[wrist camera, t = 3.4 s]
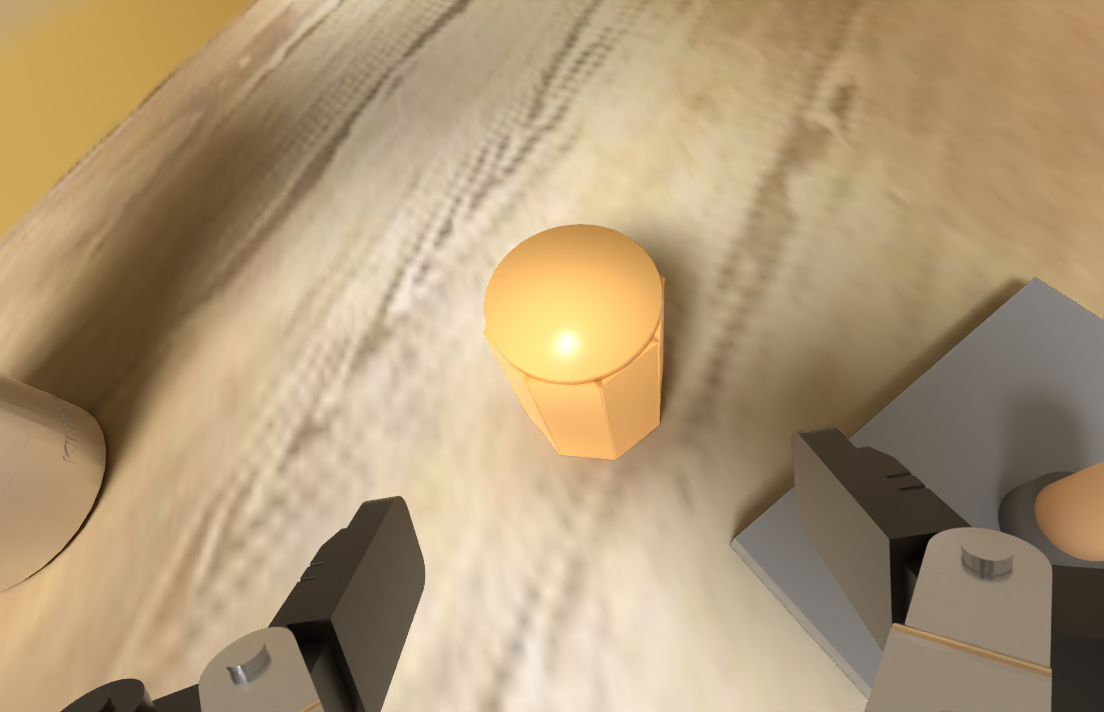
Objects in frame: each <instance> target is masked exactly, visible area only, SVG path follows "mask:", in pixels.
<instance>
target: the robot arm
mask: <svg viewBox="0 0 1104 712" xmlns="http://www.w3.org/2000/svg"><path fill="white" fill-rule="evenodd" d="M792 456H793V468H794V479H795V491H796V502H797V508H798V513H799V517H800V520H801V523H802V526H803V528H804V530H805V532H806V534H807V536H808V537H809V539H810V540H811V542H812V543H813V545H814V547H815V548H816V550H817V551H818V553H819V554H820V556H821V557H822V559H823V561H824V562H825V564H826V565H827V567H828V568H829V570H830V571H831V573H832V574H833V576H834V578H835V579H836V581H837V582H838V584H839V585H840V587H841V588H842V590H843V591H844V593H845V595H846V596H847V598H848V599H849V601H850V602H851V604H852V605H853V607H854V609H855V610H856V612H857V613H858V615H859V616H860V618H861V619H862V621H863V622H864V624H865V626H866V627H867V629H868V630H869V632H870V633H871V635H872V636H873V638H874V639H875V641H876V643H877V644H878V646H879V647H880V649H881V650H882V652H883V654H882V658H881V661H880V664H879V667H878V671H877V674H876V677H875V680H874V684H873V687H872V690H871V693H870V696H869V700H868V703H867V706H866V709H865V712H1104V569H1102V568H1087V567H1072V566H1061V565H1053V564H1050V562H1049V560H1048V559H1047V557H1046V556H1045V555H1044V554H1043V553H1042V552H1041V551H1040V550H1038V549H1037V548H1036V547H1034V546H1033V545H1031V544H1030V543H1028V542H1026V541H1024V540H1022V539H1020V538H1017V537H1015V536H1012V535H1009V534H1006V533H1003V532H999V531H995V530H991V529H984V528H973V527H972V526H971V525H970V524H968V523H967V522H966V521H965V520H964V519H963V518H962V517H961V516H959V515H958V514H957V513H956V512H955V511H954V510H953V509H952V508H950V507H949V506H948V505H947V504H946V503H945V502H944V501H943V500H941V499H940V498H939V497H938V496H937V495H936V494H935V493H934V492H933V491H931V490H930V489H929V488H926V487H925V484H924V483H922V482H921V481H920V480H919V479H918V478H917V477H916V476H915V475H913V476H912V475H911V472H910V471H909V470H908V469H907V468H906V467H904V466H903V465H902V464H901V463H900V462H899V461H898V460H897V459H895V458H894V457H892V456H890V455H888V454H885V453H883V452H881V451H878V450H876V449H874V448H871V447H869V446H867V447H861V448H856V447H855V446H854V445H853V444H852V443H851V442H850V441H849V440H848V439H847V438H846V437H845V436H844V435H843V434H842V433H841V432H840V431H839V430H838V429H837V428H835V427H833V426H831V427H825V428H819V429H813V430H807V431H801V432H795V433H793V435H792ZM105 463H106V445H105V440H104V435H103V432H102V430H101V428H100V426H99V424H98V422H97V420H96V419H95V418H94V417H93V416H92V415H91V414H89V413H88V412H87V411H86V410H84V409H82V408H80V407H78V406H76V405H73V404H71V403H69V402H67V401H64V400H62V399H60V398H58V397H57V396H55V395H53V394H51V393H48V392H46V391H45V392H43V391H41V390H39V389H36V388H34V387H31V386H29V385H27V384H25V383H22V382H20V381H18V380H15V379H13V378H11V377H9V376H6V375H5V374H2V373H0V592H1V591H3V590H5V589H7V588H9V587H12V586H14V585H16V584H18V583H20V582H22V581H23V580H25V579H26V578H28V577H29V576H31V575H32V574H34V573H35V572H36V571H38V570H39V569H41V568H42V567H43V566H44V565H46V564H47V563H48V562H49V561H50V560H51V559H52V558H53V557H54V556H55V555H56V554H57V553H59V552H60V551H61V550H62V549H63V547H64V546H65V545H66V544H67V543H68V541H69V540H70V539H71V538H72V537H73V535H74V534H75V533H76V532H77V530H78V529H79V527H80V526H81V524H82V523H83V521H84V519H85V518H86V516H87V515H88V513H89V511H90V510H91V508H92V505H93V503H94V501H95V499H96V496H97V494H98V492H99V489H100V486H101V482H102V478H103V475H104V471H105ZM300 579H301V581H300V582H297V584H296V586H295V587H294V589H293V590H292V592H291V593H290V595H289V596H288V598H287V599H286V601H285V602H284V604H283V605H282V607H281V608H280V610H279V611H278V613H277V614H276V616H275V617H274V619H273V620H272V622H271V623H270V625H269V626H268V628H264V629H261V630H257V631H255V632H252V633H250V634H247V635H245V636H243V637H241V638H240V639H238V640H236V641H234V642H233V643H232V644H230V645H229V646H227V647H226V648H225V649H223V650H222V651H221V652H220V653H219V654H218V655H216V656H215V657H214V658H213V659H212V661H211V662H210V663H209V664H208V665H207V667H206V668H205V670H204V671H203V673H202V675H201V677H200V680H199V684H196V685H193V686H191V687H188V688H185V689H183V690H180V691H177V692H175V693H172V694H169V695H167V696H164V697H161V698H159V699H156V700H153V701H152V700H151V698H150V696H149V694H148V692H147V690H146V688H145V686H144V685H143V683H142V682H141V681H140V680H137V679H121V680H117V681H114V682H111V683H108V684H105V685H103V686H101V687H98V688H96V689H94V690H92V691H90V692H89V693H87V694H85V695H83V696H82V697H80V698H79V699H77V700H76V701H74V702H73V703H71V704H70V705H68V706H67V707H66V708H65V709H63V710H62V711H61V712H381V709H382V706H383V703H384V700H385V697H386V695H387V692H388V689H389V686H390V683H391V680H392V678H393V675H394V672H395V669H396V666H397V663H398V661H399V658H400V655H401V652H402V649H403V646H404V644H405V641H406V638H407V635H408V632H409V629H410V626H411V624H412V621H413V618H414V615H415V612H416V609H417V607H418V604H419V601H420V598H421V595H422V592H423V589H424V585H425V565H424V559H423V556H422V552H421V549H420V546H419V543H418V540H417V536H416V533H415V530H414V527H413V523H412V520H411V517H410V514H409V511H408V507H407V505H406V502H405V501H404V499H403V498H402V497H401V496H395V497H389V498H383V499H377V500H371V501H365V502H364V503H362V505H361V506H360V508H359V509H358V511H357V513H356V514H355V516H354V517H353V519H352V521H351V522H350V524H349V525H348V527H347V528H344V529H341V530H340V531H339V532H337V533H336V534H335V535H334V536H333V537H332V538H330V539H329V540H328V541H327V542H326V543H325V544H323V545H322V546H321V548H320V549H319V551H318V552H317V554H316V555H315V557H314V558H313V560H312V561H311V563H310V567H307V569H306V570H305V572H304V573H303V575H302V576H301V578H300Z"/></svg>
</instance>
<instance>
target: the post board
mask: <svg viewBox="0 0 1104 712" xmlns="http://www.w3.org/2000/svg"><path fill="white" fill-rule="evenodd" d="M848 440H849V441H850V442H851V443H852V444H853V445H854V446H855V447H856V448H861V447H867V446H869V447H871V448H874V449H876V450H878V451H881V452H883V453H885V454H888V455H890V456H892V457H894V458H895V459H897V460H898V461H899V462H900V463H901V464H902V465H903V466H904V467H906V468H907V469H908V470H909V471H910V472H911V475H912V476H913V475H915V476H916V477H917V478H918V479H919V480H920V481H921V482H922V483H924V484H925V487H926V488H929V489H930V490H931V491H933V492H934V493H935V494H936V495H937V496H938V497H939V498H940V499H941V500H943V501H944V502H945V503H946V504H947V505H948V506H949V507H950V508H952V509H953V510H954V511H955V512H956V513H957V514H958V515H959V516H961V517H962V518H963V519H964V520H965V521H966V522H967V523H968V524H970V525H971V526H972V527H973V528H984V529H991V530H995V531H999V532H1003V533H1006V534H1009V535H1012V536H1015V537H1017V538H1020V539H1022V540H1024V541H1026V542H1028V543H1030V544H1031V545H1033V546H1034V547H1036V548H1037V549H1038V550H1040V551H1041V552H1042V553H1043V554H1044V555H1045V556H1046V557H1047V559H1048V560H1049V562H1050V564H1053V565H1061V566H1072V567H1087V568H1102V569H1104V320H1103V319H1101V318H1100V317H1098V316H1096V315H1095V314H1093V313H1092V312H1090V311H1089V310H1087V309H1085V308H1084V307H1082V306H1081V305H1079V304H1077V303H1076V302H1074V301H1073V300H1071V299H1070V298H1068V297H1066V296H1065V295H1063V294H1062V293H1060V292H1058V291H1057V290H1055V289H1054V288H1052V287H1050V286H1049V285H1047V284H1046V283H1044V282H1043V281H1041V280H1039V279H1038V278H1036V277H1034V278H1033V279H1032V280H1031V281H1030V282H1028V283H1027V284H1026V285H1025V286H1024V287H1023V288H1022V289H1020V290H1019V291H1018V292H1017V293H1016V294H1015V295H1013V296H1012V297H1011V298H1010V299H1009V300H1008V301H1007V302H1005V303H1004V304H1003V305H1002V306H1001V307H1000V308H999V309H997V310H996V311H995V312H994V313H993V314H992V315H990V316H989V317H988V318H987V319H986V320H985V321H984V322H982V323H981V324H980V325H979V326H978V327H977V328H976V329H974V330H973V331H972V332H971V333H970V334H969V335H967V336H966V337H965V338H964V339H963V340H962V341H961V342H959V343H958V344H957V345H956V346H955V347H954V348H952V349H951V350H950V351H949V352H948V353H947V354H946V355H944V356H943V357H942V358H941V359H940V360H939V361H938V362H936V363H935V364H934V365H933V366H932V367H931V368H929V369H928V370H927V371H926V372H925V373H924V374H923V375H921V376H920V377H919V378H918V379H917V380H916V381H915V382H913V383H912V384H911V385H910V386H909V387H908V388H906V389H905V390H904V391H903V392H902V393H901V394H900V395H898V396H897V397H896V398H895V399H894V400H893V401H892V402H890V403H889V404H888V405H887V406H886V407H885V408H883V409H882V410H881V411H880V412H879V413H878V414H877V415H875V416H874V417H873V418H872V419H871V420H870V421H868V422H867V423H866V424H865V425H864V426H863V427H862V428H860V429H859V430H858V431H857V432H856V433H855V434H854V435H852V436H851V437H850V438H849V439H848ZM730 546H731V547H732V548H733V549H734V551H735V552H736V553H737V554H738V555H739V556H740V557H741V558H742V559H743V561H744V562H745V563H746V564H747V565H748V566H749V567H750V568H751V569H752V571H753V572H754V573H755V574H756V575H757V576H758V577H759V578H760V580H761V581H762V582H763V583H764V584H765V585H766V586H767V587H768V588H769V590H770V591H771V592H772V593H773V594H774V595H775V596H776V597H777V599H778V600H779V601H780V602H781V603H782V604H783V605H784V606H785V607H786V609H787V610H788V611H789V612H790V613H791V614H792V615H793V616H794V617H795V619H796V620H797V621H798V622H799V623H800V624H801V625H802V626H803V628H804V629H805V630H806V631H807V632H808V633H809V634H810V635H811V636H812V638H813V639H814V640H815V641H816V642H817V643H818V644H819V645H820V647H821V648H822V649H823V650H824V651H825V652H826V653H827V654H828V655H829V657H830V658H831V659H832V660H833V661H834V662H835V663H836V664H837V665H838V667H839V668H840V669H841V670H842V671H843V672H844V673H845V674H846V676H847V677H848V678H849V679H850V680H851V681H852V682H853V683H854V684H855V686H856V687H857V688H858V689H859V690H860V691H861V692H862V693H863V694H864V696H865V697H866V698H867V699H868V700H869V696H870V693H871V690H872V687H873V684H874V680H875V677H876V674H877V671H878V667H879V664H880V661H881V658H882V654H883V652H882V650H881V649H880V647H879V646H878V644H877V643H876V641H875V639H874V638H873V636H872V635H871V633H870V632H869V630H868V629H867V627H866V626H865V624H864V622H863V621H862V619H861V618H860V616H859V615H858V613H857V612H856V610H855V609H854V607H853V605H852V604H851V602H850V601H849V599H848V598H847V596H846V595H845V593H844V591H843V590H842V588H841V587H840V585H839V584H838V582H837V581H836V579H835V578H834V576H833V574H832V573H831V571H830V570H829V568H828V567H827V565H826V564H825V562H824V561H823V559H822V557H821V556H820V554H819V553H818V551H817V550H816V548H815V547H814V545H813V543H812V542H811V540H810V539H809V537H808V536H807V534H806V532H805V530H804V528H803V526H802V523H801V520H800V517H799V513H798V508H797V502H796V491H795V486H794V487H793V488H791V489H790V490H789V491H788V492H787V493H786V494H784V495H783V496H782V497H781V498H780V499H779V500H778V501H776V502H775V503H774V504H773V505H772V506H771V507H770V508H768V509H767V510H766V511H765V512H764V513H763V514H761V515H760V516H759V517H758V518H757V519H756V520H755V521H753V522H752V523H751V524H750V525H749V526H748V527H746V528H745V529H744V530H743V531H742V532H741V533H740V534H738V535H737V536H736V537H735V538H734V539H733V541H732V542H731V544H730Z"/></svg>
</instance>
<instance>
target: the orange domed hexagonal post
mask: <svg viewBox="0 0 1104 712" xmlns="http://www.w3.org/2000/svg"><path fill="white" fill-rule="evenodd" d="M664 291H665V278H664V277H662V276H661V275H660V274H659V273H658V271H657V268H656V266H655V264H654V262H653V261H652V259H651V258H650V256H649V255H648V254H647V252H646V251H645V250H644V249H643V248H642V247H641V246H640V245H639V244H637V243H636V242H635V241H633V240H632V239H631V238H629V237H627V236H625V235H624V234H622V233H619V232H617V231H615V230H612V229H609V228H605V227H601V226H595V225H583V224H579V225H567V226H560V227H556V228H552V229H549V230H546V231H543V232H540V233H538V234H536V235H534V236H532V237H530V238H528V239H527V240H525V241H523V242H522V243H520V244H519V245H518V246H516V247H515V248H514V249H513V250H511V251H510V252H509V253H508V254H507V255H506V256H505V257H504V259H503V260H502V261H501V262H500V264H499V265H498V266H497V268H496V270H495V271H494V273H493V275H492V277H491V279H490V281H489V284H488V287H487V290H486V295H485V302H484V313H485V319H486V326H485V330H484V332H483V333H484V336H485V338H486V339H487V341H488V343H489V345H490V347H491V349H492V350H493V352H494V354H495V356H496V358H497V360H498V361H499V363H500V365H501V367H502V369H503V371H504V372H505V374H506V376H507V378H508V380H509V382H510V383H511V385H512V387H513V389H514V391H515V393H516V394H517V396H518V398H519V400H520V402H521V404H522V406H523V407H524V409H525V411H526V413H527V415H528V416H529V417H530V418H531V419H532V420H533V422H534V423H535V424H536V425H537V427H538V428H539V429H540V430H541V431H542V433H543V434H544V435H545V436H546V438H547V439H548V440H549V441H550V443H551V444H552V445H553V446H554V448H555V449H556V450H557V451H558V453H559V455H567V456H578V457H589V458H600V459H611V460H617V459H618V458H619V457H620V456H621V455H623V454H624V453H625V452H626V451H628V450H629V449H630V448H631V447H633V446H634V445H635V444H636V443H638V442H639V441H640V440H641V439H643V438H644V437H645V436H646V435H648V434H649V433H650V432H651V431H652V430H654V429H655V428H656V427H657V426H659V425H660V403H661V387H662V376H663V344H664Z"/></svg>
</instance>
